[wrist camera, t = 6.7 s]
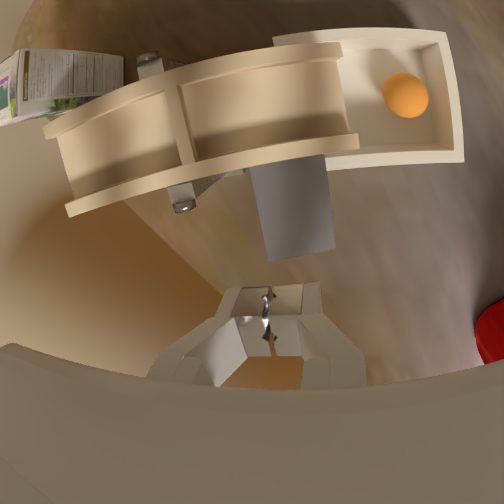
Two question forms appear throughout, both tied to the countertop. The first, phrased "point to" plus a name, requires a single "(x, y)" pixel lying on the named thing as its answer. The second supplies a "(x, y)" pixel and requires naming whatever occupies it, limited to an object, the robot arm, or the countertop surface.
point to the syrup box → (54, 81)
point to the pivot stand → (190, 190)
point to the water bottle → (491, 333)
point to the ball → (405, 95)
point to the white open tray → (372, 102)
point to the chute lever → (220, 137)
